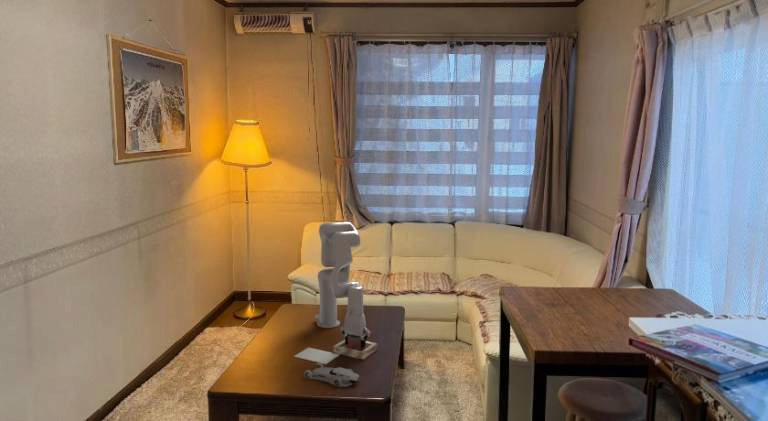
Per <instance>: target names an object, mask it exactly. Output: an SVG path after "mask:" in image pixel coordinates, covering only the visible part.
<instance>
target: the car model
mask: <svg viewBox="0 0 768 421" xmlns="http://www.w3.org/2000/svg"><path fill="white" fill-rule="evenodd" d="M319 366H320V367H319ZM303 376H304V377H305V378H306V379H310V380H311V379H312V380H318V381H321V382H326V383H329V384H331V385H332V386H336V387H342V388H343V387H345V388H346V387H350V386H352V385H353V382H357V381H358V379H359V377H360V375H359V374H357V373H355V372H354V371H353V369H352V368H344V367H336V368H335V367H327V366H325V367H324V364H322V363H317V362H316V365H315V368H314V370H312V371H311V369H306V370H305V372H304V375H303Z"/></svg>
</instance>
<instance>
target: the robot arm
mask: <svg viewBox="0 0 768 421" xmlns="http://www.w3.org/2000/svg"><path fill="white" fill-rule="evenodd" d="M318 235H319V238H320V242H321V246H320V247H321V251H320V253H321V254H320V256H321V257H320V260H321V261H320V263H321V265H322V267H323V268H324V267H325V268H324V269H321V270H319V272H317V283H318V288H319V314H315V315H314V320H317V322H316V325H317V327H320V328H323V329H333V328H336V327H337V328H338V327H339V329H340V331H341V332H342V335H343V337H344V340H345V345H348V337H347V335H349V334H350V335H355V336H360V337H361V339H362V340H361V348H363V349H365V348H364V347H365V345H366V341H367V339H368V338H369V337H370V335H371V334H372V332H371V331H370V329H368V328H367V324H366V323H367V322H366V316H365V313H364V288H363V286H362V285H361V284H360V282H359V281H357V280H353V281H350V276H351V275H350V272H351V264H352V263H353V261H354V258H353V255H352V249H351V248H357V247H359V246H360V244H361V237H360V234H359V232H358V230H357V229H356V227H355V226H354V224H352V222H350V221H337V222H336V221H332V222H325V223H321V224H320V225H319V228H318ZM345 298H347V306H346V307H345V310H346V311H347V312H346V313H345V317H344V322H343V323H344V324H343V325H341V326H340V323H341V322H340V320H339V319H338V299H345Z"/></svg>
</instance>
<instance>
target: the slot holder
mask: <svg viewBox="0 0 768 421" xmlns="http://www.w3.org/2000/svg"><path fill="white" fill-rule="evenodd" d="M378 346H379V344H378V342H377V343H376V342H374V341H373V342H372V341H368V340H366V345H365V347H364V348H363V351H359V350H354V349H349V348H348V345H345V339H343V340H342V341H340V342H338V343H337V344H335V345H334V346H332V353H335V354H340V355H342V356H345V357H350V358H355V359H360V360H365V359H366V358H368V357H369V356H371V355H372V354H373V353H375V352H376V351H378Z"/></svg>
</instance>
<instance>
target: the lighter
mask: <svg viewBox="0 0 768 421" xmlns="http://www.w3.org/2000/svg"><path fill="white" fill-rule="evenodd" d="M347 337H348V346H347V348H349V349H354V350H359V351H363V350H364V348H361V340H362V339H361V337H360V336H355V335H350V334H349V335H347Z"/></svg>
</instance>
